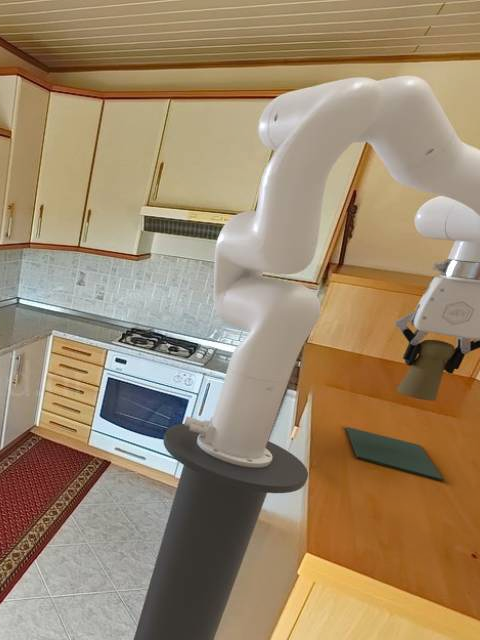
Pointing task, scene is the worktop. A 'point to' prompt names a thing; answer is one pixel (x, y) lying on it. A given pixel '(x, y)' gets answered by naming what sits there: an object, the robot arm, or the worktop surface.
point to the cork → (427, 370)
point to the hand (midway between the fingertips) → (428, 366)
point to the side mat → (392, 453)
